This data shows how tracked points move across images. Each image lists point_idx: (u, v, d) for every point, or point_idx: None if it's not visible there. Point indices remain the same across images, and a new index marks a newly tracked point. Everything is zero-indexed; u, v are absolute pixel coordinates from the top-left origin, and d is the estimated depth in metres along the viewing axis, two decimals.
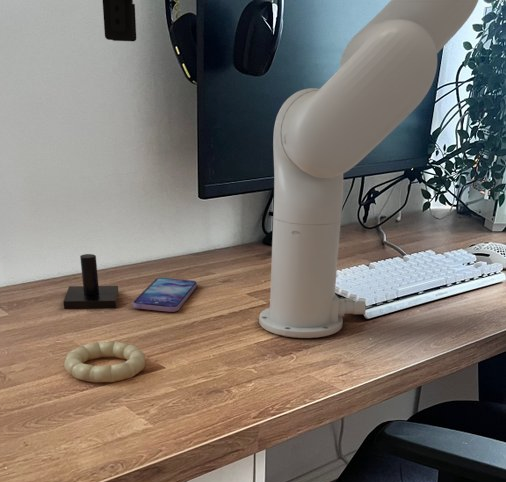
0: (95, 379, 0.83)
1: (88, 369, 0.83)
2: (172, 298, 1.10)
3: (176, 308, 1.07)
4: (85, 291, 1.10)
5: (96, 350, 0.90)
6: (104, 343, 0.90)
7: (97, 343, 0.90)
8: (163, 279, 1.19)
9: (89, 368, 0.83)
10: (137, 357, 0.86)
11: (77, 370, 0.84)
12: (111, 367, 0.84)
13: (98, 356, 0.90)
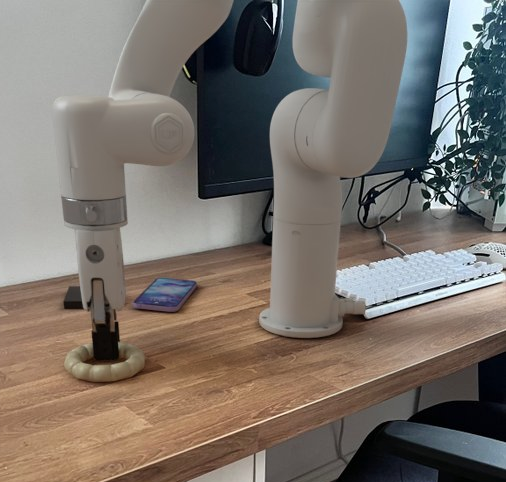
0: (95, 378, 0.84)
1: (88, 368, 0.83)
2: (172, 298, 1.10)
3: (176, 308, 1.07)
4: None
5: None
6: None
7: None
8: (163, 279, 1.19)
9: (88, 368, 0.84)
10: (137, 356, 0.87)
11: (77, 369, 0.84)
12: (111, 366, 0.84)
13: None
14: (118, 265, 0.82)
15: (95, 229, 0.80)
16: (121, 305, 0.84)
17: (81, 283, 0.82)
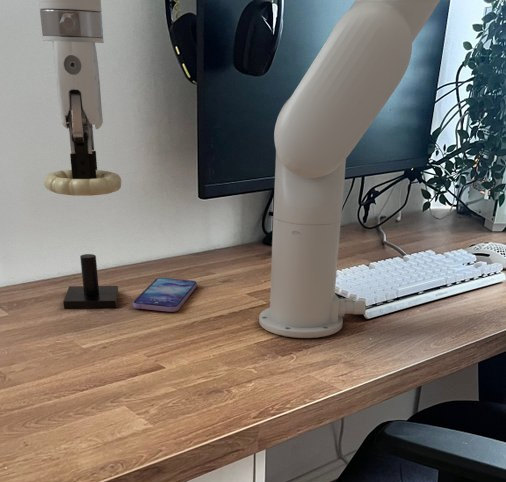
0: (74, 190, 0.88)
1: (67, 181, 0.88)
2: (172, 298, 1.10)
3: (176, 308, 1.07)
4: (85, 291, 1.10)
5: None
6: None
7: None
8: (163, 279, 1.19)
9: (68, 180, 0.88)
10: (114, 176, 0.91)
11: (57, 183, 0.88)
12: (89, 179, 0.88)
13: None
14: (95, 79, 0.86)
15: (72, 40, 0.84)
16: (98, 121, 0.88)
17: (60, 95, 0.86)
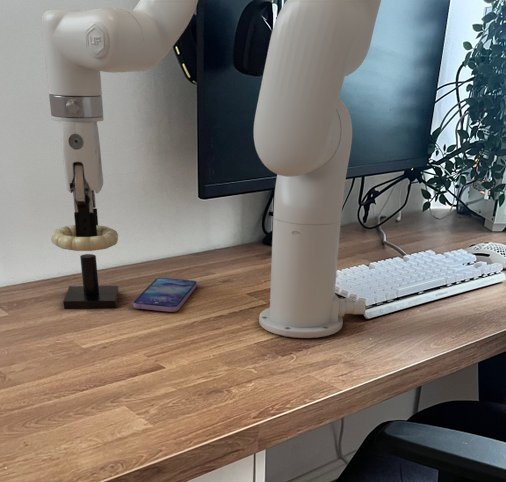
0: (77, 247, 1.03)
1: (71, 239, 1.03)
2: (172, 298, 1.10)
3: (176, 308, 1.07)
4: (85, 291, 1.10)
5: None
6: None
7: None
8: (163, 279, 1.19)
9: (71, 238, 1.03)
10: (111, 233, 1.06)
11: (62, 240, 1.03)
12: (90, 237, 1.03)
13: None
14: (95, 152, 1.01)
15: (76, 121, 0.99)
16: (98, 187, 1.03)
17: (65, 167, 1.01)
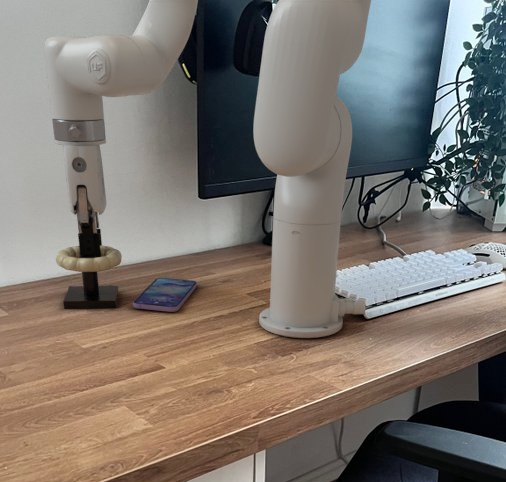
0: (81, 268, 1.04)
1: (75, 260, 1.04)
2: (172, 298, 1.10)
3: (176, 308, 1.07)
4: (85, 291, 1.10)
5: None
6: None
7: None
8: (163, 279, 1.19)
9: (76, 260, 1.04)
10: (115, 253, 1.07)
11: (66, 261, 1.04)
12: (94, 259, 1.04)
13: None
14: (98, 175, 1.02)
15: (79, 144, 1.00)
16: (101, 209, 1.04)
17: (68, 189, 1.02)
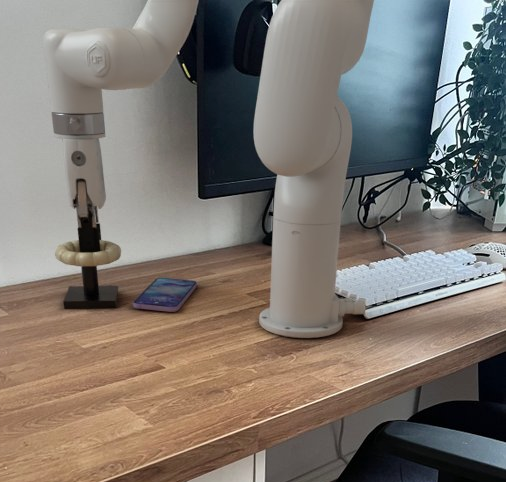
0: (80, 263, 1.04)
1: (74, 254, 1.04)
2: (172, 298, 1.10)
3: (176, 308, 1.07)
4: (85, 291, 1.10)
5: None
6: None
7: None
8: (163, 279, 1.19)
9: (75, 254, 1.04)
10: (114, 248, 1.07)
11: (65, 256, 1.04)
12: (93, 253, 1.04)
13: None
14: (97, 169, 1.02)
15: (78, 138, 1.00)
16: (100, 203, 1.04)
17: (68, 183, 1.02)
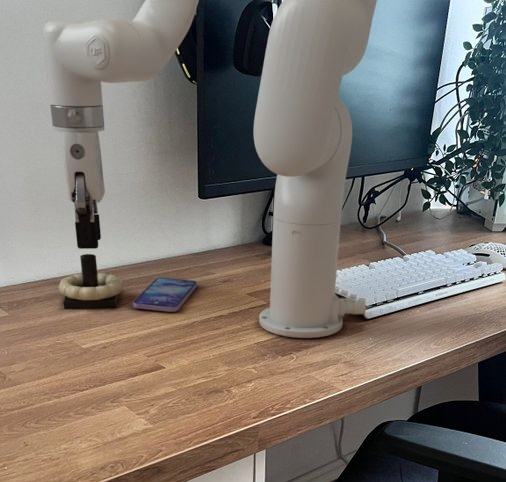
0: (83, 297, 1.07)
1: (78, 289, 1.07)
2: (172, 298, 1.10)
3: (176, 308, 1.07)
4: None
5: None
6: None
7: None
8: (163, 279, 1.19)
9: (78, 289, 1.07)
10: (116, 282, 1.10)
11: (69, 290, 1.07)
12: (96, 288, 1.07)
13: None
14: (96, 162, 1.01)
15: (77, 131, 0.99)
16: (99, 196, 1.03)
17: (66, 176, 1.01)
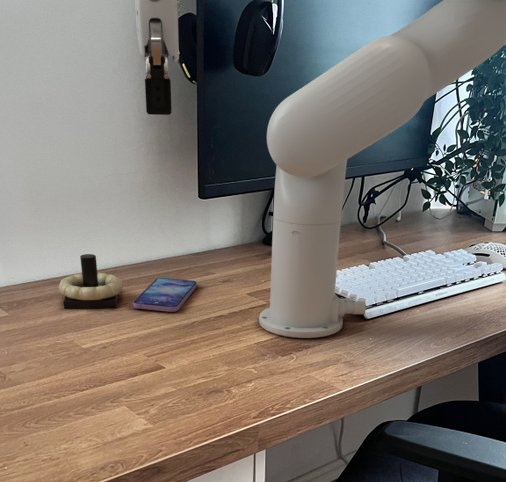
0: (83, 297, 1.07)
1: (78, 289, 1.07)
2: (172, 298, 1.10)
3: (176, 308, 1.07)
4: None
5: None
6: None
7: None
8: (163, 279, 1.19)
9: (78, 289, 1.07)
10: (116, 282, 1.10)
11: (69, 290, 1.07)
12: (96, 288, 1.07)
13: None
14: (175, 7, 0.84)
15: None
16: (177, 52, 0.86)
17: (140, 24, 0.84)
